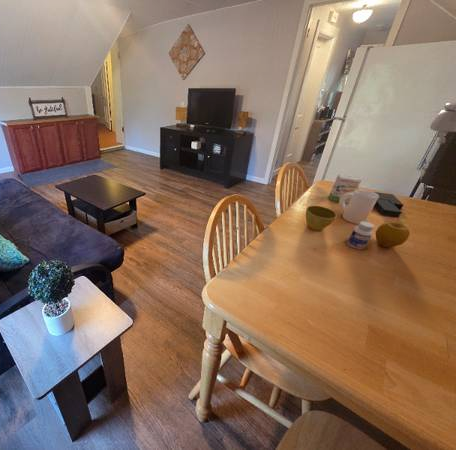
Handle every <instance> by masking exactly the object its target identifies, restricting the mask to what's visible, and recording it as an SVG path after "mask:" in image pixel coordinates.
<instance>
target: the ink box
mask: <svg viewBox="0 0 456 450" xmlns="http://www.w3.org/2000/svg"><path fill="white" fill-rule="evenodd" d="M361 182H362V179H361V178H360V177H359V176H356V175H355V176H354V175H347V174H340V173H339V174H338V175H337V176H336V178H335V181H334V183H333V185H332V188H331V191H330V193H329V194H328V198H329V201H333V202H339V200H340V198H341V197H342V196H343V195H345V194H347V193H354V191H355V190H358V188H359V187H360V184H361ZM350 199H351V197H349V198H347V199H346V200H345V204H349V202H350Z"/></svg>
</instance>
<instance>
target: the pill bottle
mask: <svg viewBox="0 0 456 450" xmlns="http://www.w3.org/2000/svg"><path fill="white" fill-rule="evenodd" d="M374 228H375V225H374V224H373V223H371V222H369V221H366V222H364V221H362V222H360V223H359V224H358V225H357V226H355V227H354V228H353V229H352V232H351V234H350V235H349V238H348V239H347V244H348V246H350V247H351V248H354V249H357V250H364V249H365V248H366V246H367V245H368V243H369V241H370V240H371V238H372V236H373V235H374V233H373V230H374Z"/></svg>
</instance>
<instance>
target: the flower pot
mask: <svg viewBox="0 0 456 450" xmlns="http://www.w3.org/2000/svg"><path fill="white" fill-rule="evenodd" d="M306 207H307V208H306V210H305V211H306V212H305V219H306V220H305V221H306V226H307V227H308V228H309V229H311V230H313V231H322V230H324V229H325V228H327V227H329V226H330V225H331V224H332V223H333V222H334V220H335V219H336V218H337V216H338V215H337V213H336V212H335V211H334V210H333V209H330V208H328V207H325V206H320V205H309V206H306Z"/></svg>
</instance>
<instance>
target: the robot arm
mask: <svg viewBox="0 0 456 450" xmlns="http://www.w3.org/2000/svg"><path fill="white" fill-rule="evenodd" d="M443 108H444V109H443V110H441V111H440V112H439V113H438V114H437V115H436V116H435V118H434V119H433V120H432V122H431V124H430V130H432V131H434V132H435V131H436V132H438V140H437V144H442V145H443V144H445V143H446V141H447V138H445V135H447V134H448V133H456V101H455V100H454V101H450V102H446V103H445V105H444V107H443Z"/></svg>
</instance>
